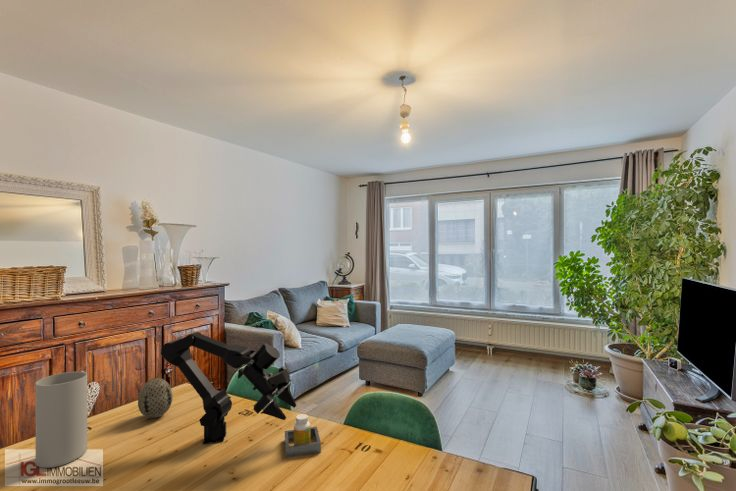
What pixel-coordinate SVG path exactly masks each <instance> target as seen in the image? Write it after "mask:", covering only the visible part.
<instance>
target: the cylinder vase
mask: <svg viewBox="0 0 736 491" xmlns="http://www.w3.org/2000/svg"><path fill="white" fill-rule="evenodd" d="M87 450H88V373H87V372H86V371H69V372H68V371H67V372H61V373H55V374H52V375H49V376H45V377H43V378H40V379H38V380H37V381H36V382H35V465H36V466H37V467H39V468H41V469H48V468H49V469H50V468H56V467H57V468H58V467H61V466H64V465H67V464H69V462H70V463H72V462H74V461H76V460H77V458H78V459H80V458H81V457H82V456H83V455H85V453H87ZM75 459H76V460H75ZM73 460H74V461H73ZM71 461H72V462H71Z"/></svg>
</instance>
